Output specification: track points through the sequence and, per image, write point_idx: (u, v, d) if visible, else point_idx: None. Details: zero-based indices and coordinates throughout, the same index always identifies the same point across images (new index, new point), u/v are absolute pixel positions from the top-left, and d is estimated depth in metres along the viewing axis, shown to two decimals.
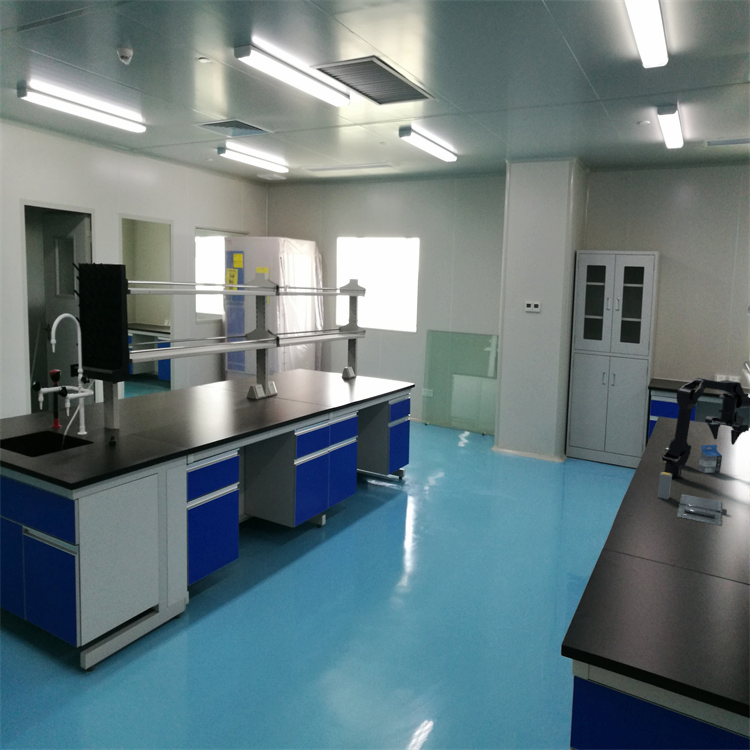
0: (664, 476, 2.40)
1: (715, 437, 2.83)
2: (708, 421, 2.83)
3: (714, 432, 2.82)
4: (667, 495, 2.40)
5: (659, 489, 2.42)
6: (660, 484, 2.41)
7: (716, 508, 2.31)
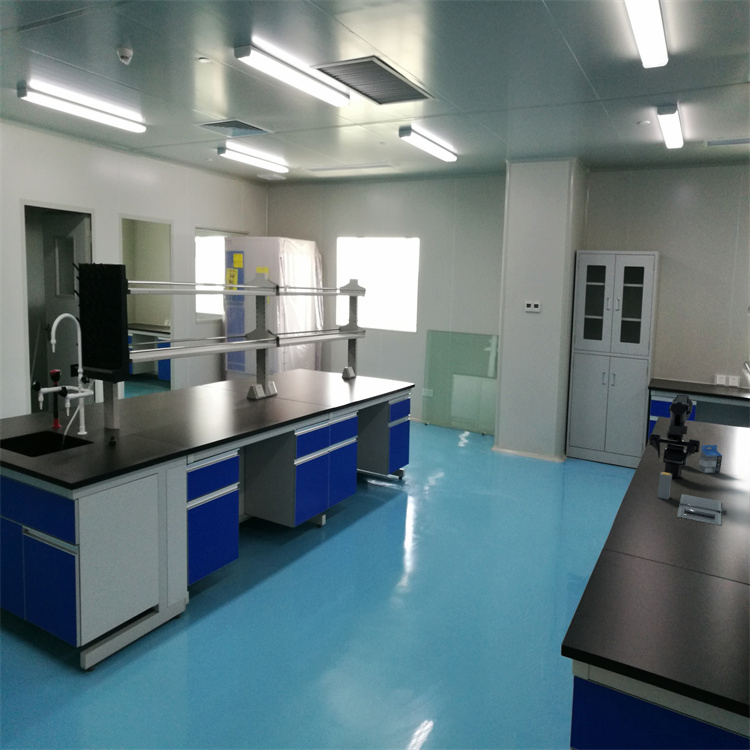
0: (664, 476, 2.40)
1: None
2: None
3: None
4: (667, 495, 2.40)
5: (659, 489, 2.42)
6: (660, 484, 2.41)
7: (716, 508, 2.31)
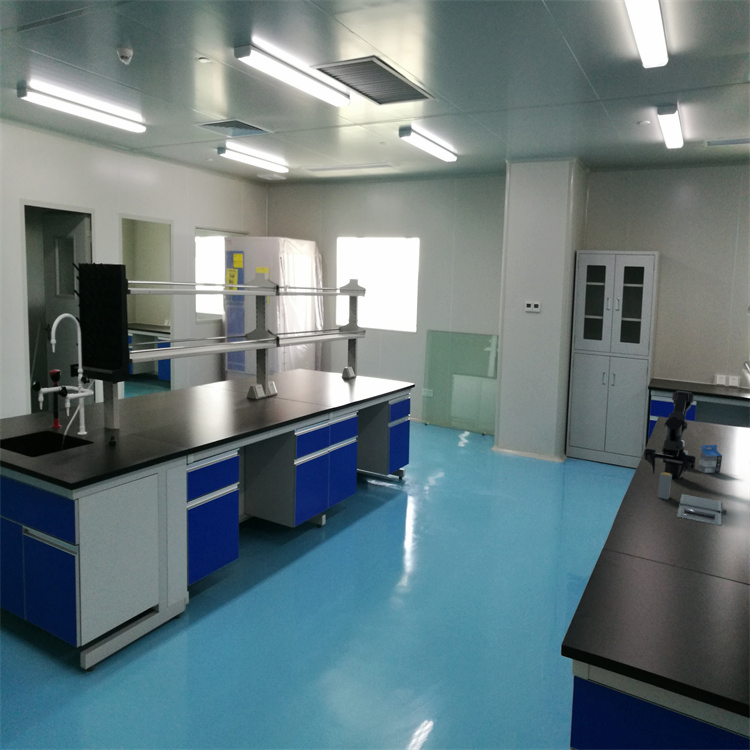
0: (664, 476, 2.40)
1: (678, 476, 2.41)
2: None
3: None
4: (667, 495, 2.40)
5: (659, 489, 2.42)
6: (660, 484, 2.41)
7: (716, 508, 2.31)
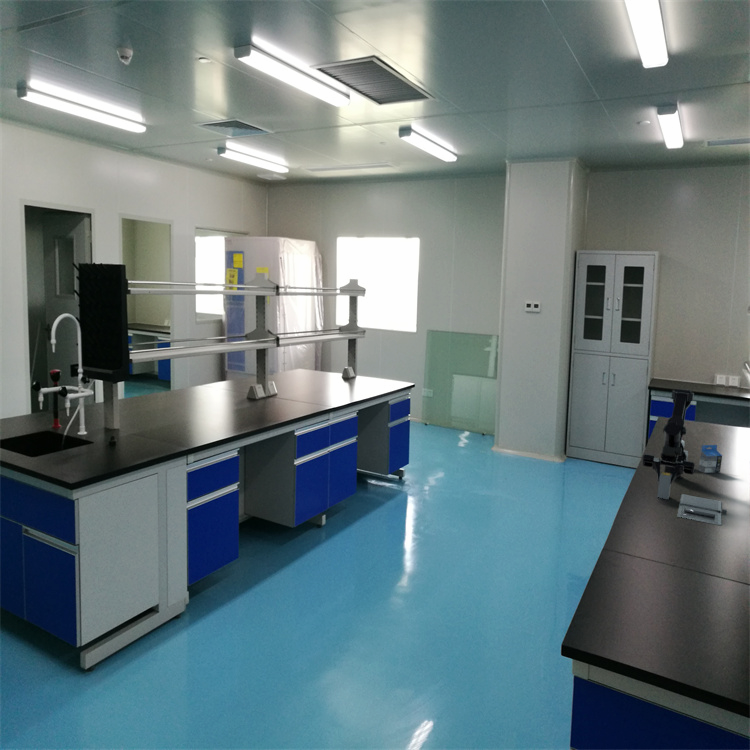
0: (664, 476, 2.40)
1: (670, 481, 2.40)
2: None
3: None
4: (667, 495, 2.40)
5: (659, 489, 2.42)
6: (660, 484, 2.41)
7: (716, 508, 2.31)
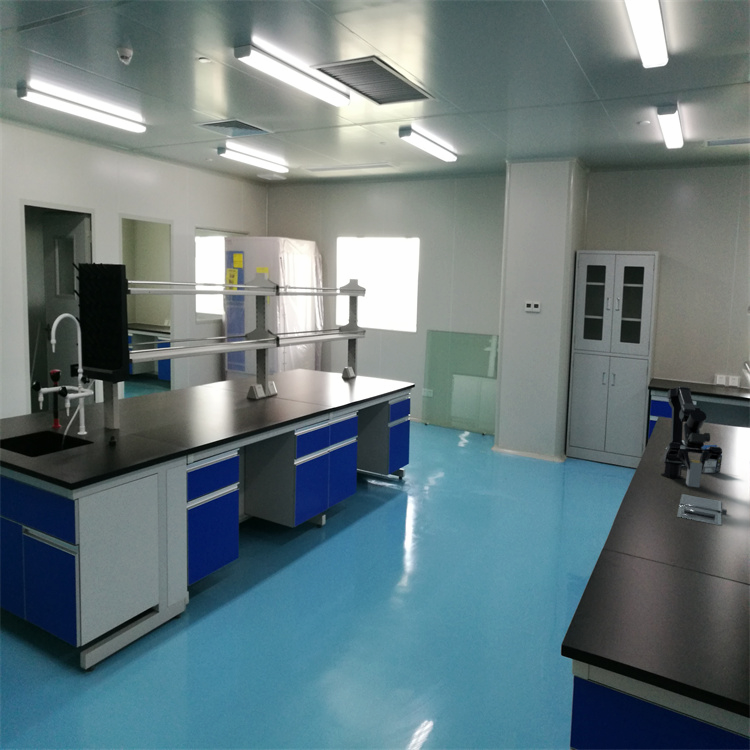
0: (695, 464, 2.34)
1: None
2: None
3: None
4: (698, 483, 2.35)
5: (690, 478, 2.35)
6: (691, 472, 2.35)
7: (716, 508, 2.31)
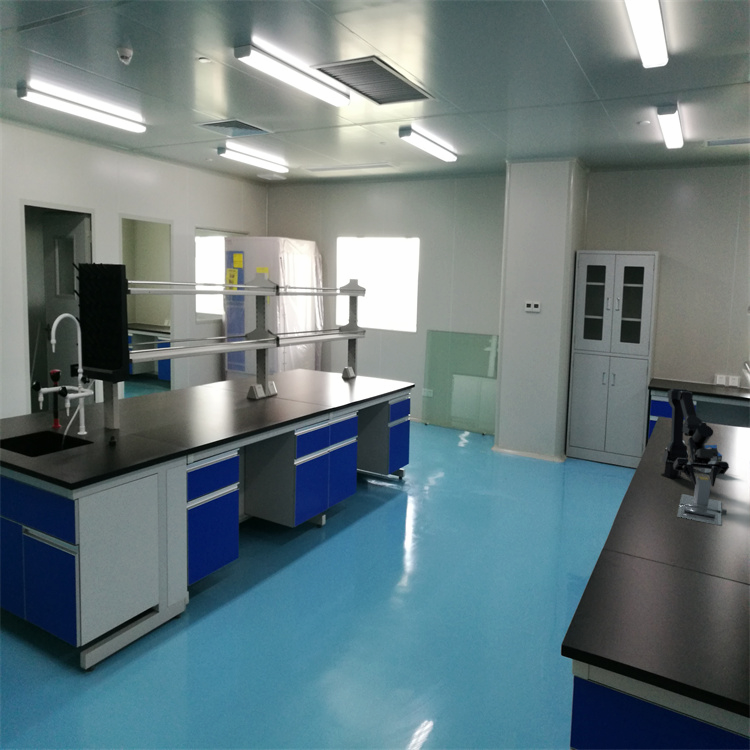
0: (704, 481, 2.34)
1: (712, 484, 2.35)
2: None
3: (710, 479, 2.37)
4: (707, 500, 2.35)
5: (699, 495, 2.35)
6: (700, 489, 2.35)
7: (716, 508, 2.31)
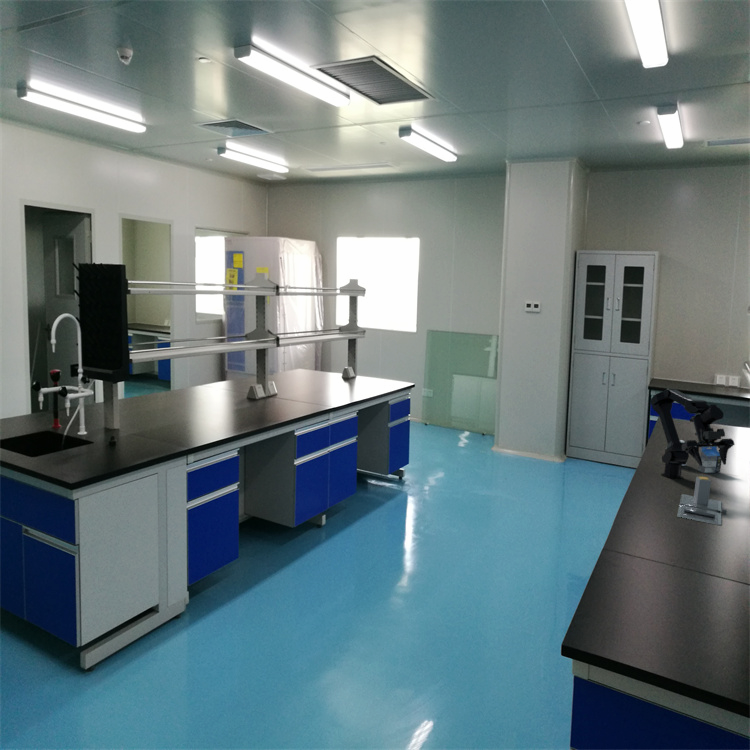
0: (704, 481, 2.34)
1: (723, 462, 2.46)
2: None
3: (721, 457, 2.47)
4: (707, 500, 2.35)
5: (699, 495, 2.35)
6: (700, 489, 2.35)
7: (716, 508, 2.31)
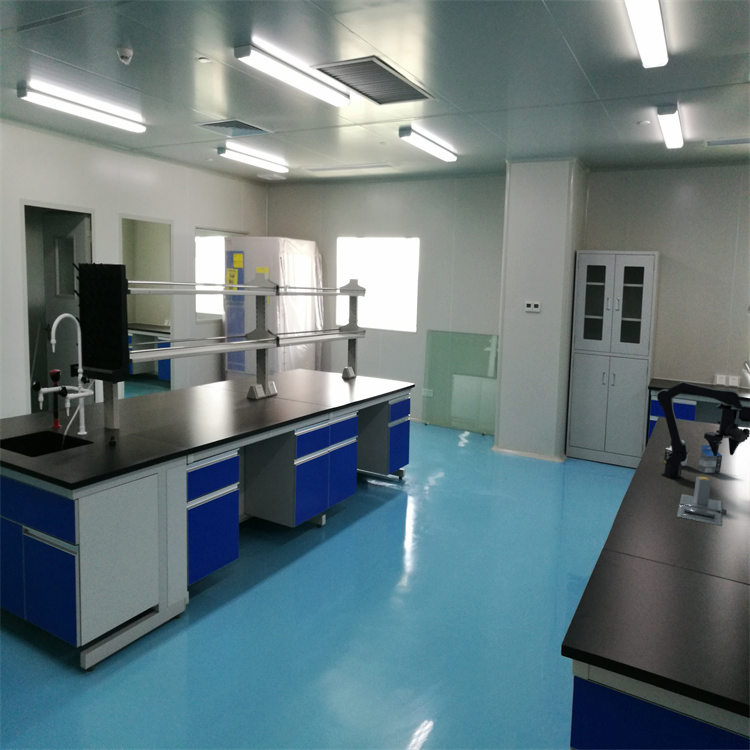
0: (704, 481, 2.34)
1: (730, 452, 2.62)
2: None
3: (730, 446, 2.63)
4: (707, 500, 2.35)
5: (699, 495, 2.35)
6: (700, 489, 2.35)
7: (716, 508, 2.31)
